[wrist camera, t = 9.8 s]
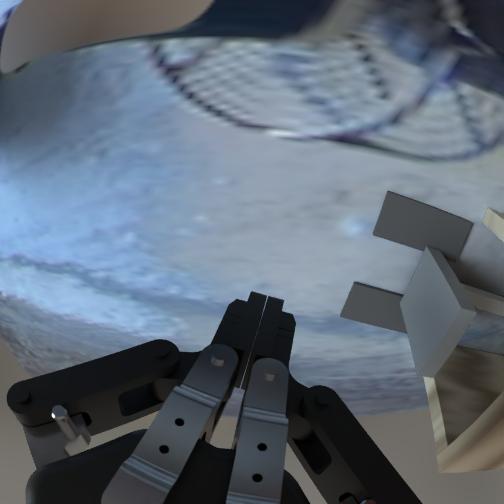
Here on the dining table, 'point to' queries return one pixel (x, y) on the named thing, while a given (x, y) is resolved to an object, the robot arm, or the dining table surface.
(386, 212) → the pit pad
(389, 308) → the plate
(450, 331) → the grey elongated piece
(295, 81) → the dining table surface
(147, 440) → the robot arm
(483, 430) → the tunnel
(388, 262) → the dining table surface
